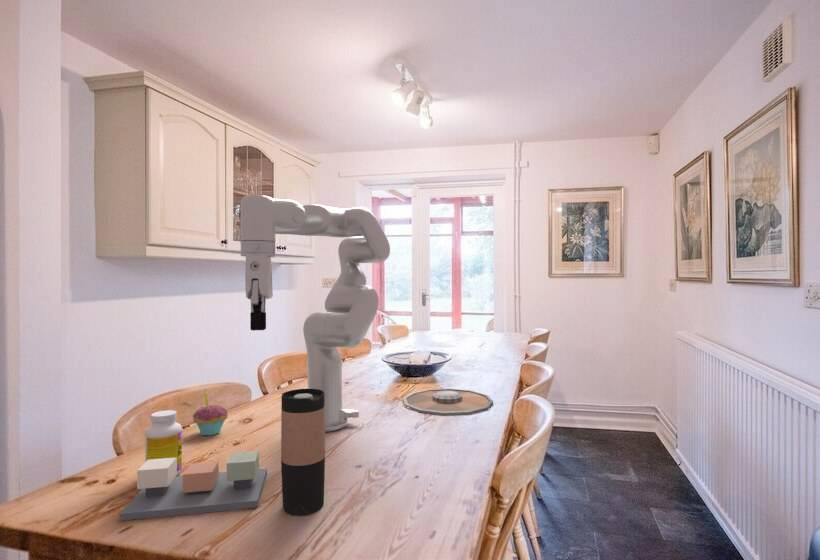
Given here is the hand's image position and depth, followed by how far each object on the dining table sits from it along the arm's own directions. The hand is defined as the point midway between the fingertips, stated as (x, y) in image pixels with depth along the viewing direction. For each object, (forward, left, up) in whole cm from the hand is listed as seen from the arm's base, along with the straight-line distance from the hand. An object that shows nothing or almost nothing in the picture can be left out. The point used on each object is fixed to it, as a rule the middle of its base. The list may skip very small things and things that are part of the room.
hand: (258, 329), depth 102 cm
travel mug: (-11, +25, -29) cm, 40 cm away
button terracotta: (+8, +17, -27) cm, 33 cm away
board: (+8, +17, -29) cm, 35 cm away
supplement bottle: (+18, +6, -29) cm, 35 cm away
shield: (-55, -36, -30) cm, 72 cm away
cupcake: (+15, -20, -29) cm, 39 cm away
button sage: (0, +17, -26) cm, 31 cm away
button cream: (+16, +17, -26) cm, 35 cm away
